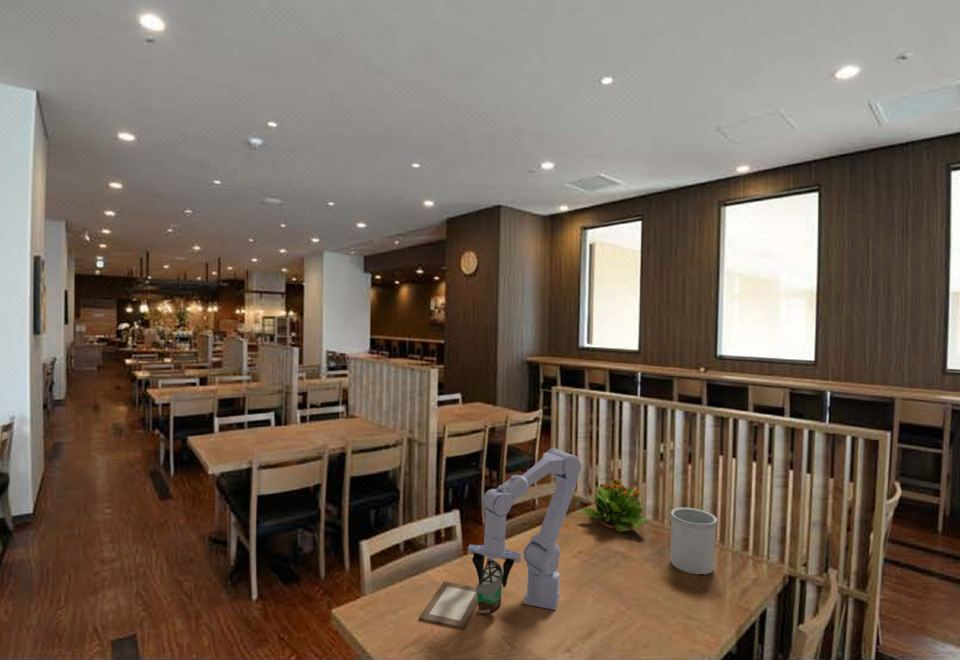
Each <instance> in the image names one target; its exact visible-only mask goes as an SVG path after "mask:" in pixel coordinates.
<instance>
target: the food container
mask: <svg viewBox="0 0 960 660" xmlns="http://www.w3.org/2000/svg"><path fill="white" fill-rule="evenodd" d="M475 587H476V593H477V598H478V604H477V606H478V607H477V609H478V615H479V616H489V615H492V614H494V613H496V612H497V611H499V609H500V607H501V605H502V590H503V589H502V588H503V566H501V564H500V563H499V562H498V561H496V560H495V559H488V558H487V557H486V564H485V567H484V571H483V573H482V576H481V579H480V582H479V581H478V584H476V586H475Z"/></svg>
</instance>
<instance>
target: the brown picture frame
mask: <svg viewBox="0 0 960 660" xmlns="http://www.w3.org/2000/svg"><path fill="white" fill-rule="evenodd" d="M476 587H477V586H470V585H465V584H461V583H456V582H455V583H454V582H449V581H443V582H442V583H441V584H440V586H439V588H438V589H437V590H436V592H435V594H434V595H433V596H432V598H431V599H430V601H429V602H428V604H427V605H426V607H425V608H424V610H423V611H422V612H421V614H419V617H418V620H419V621H422V622H426V621H427V623H432V624H437V625H440V626H445V627H449V628H455V629H458V630H459V629H460V630H464V631H465V629H466V628H467V626H468V624H469V622H470V620H471V619H472V616H473V614H474V612H475V610H476V609H477V606H478V598H477V593H476Z"/></svg>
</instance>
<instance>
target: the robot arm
mask: <svg viewBox="0 0 960 660" xmlns="http://www.w3.org/2000/svg"><path fill="white" fill-rule="evenodd" d="M581 470H582V463H581V461H580V458H579V457H578V455H576V454H570V453H569V452H565V451H564V450H563V451H562V450H559V449H558V448H555V447H552V448H550V449H548V450H547V451H546V452H544V453H543V454H542V458H541V459H540V460H539V461H538V462H537V463H535V464H534V465H533V466H532V467H531V468H529V469H527V471H526V472H525V473H523V474H522V475H520V474H515V475H511V476H510V478H509V479H508V480H506V481H505V482H504V483H503V484H500V485H498V486H497V487H496V488H491V489H488V490H487V491H486V492H485V493H484V495H483V498H482V499H481V505H482V507H483V509H484V514H485V516H484V517H485V519H484V541H483V543H484V544H481V545H480V544H469V546H468V548H467V555H472V558H471V559H472V560H471V561H472V563H473V565H474V568H475V569H476V573H477V577H478V583H479V582H480V579H481V576H482V573H483V571H484V569H485V567H484V565H485V558H486V559H487V558H488V559H492V560H495V559H499V560H504V561H503V564H502V569H503V584H502V588H506V586H507V583H508V579H509V574H510V573H511V570H512V569H513V566H514V565H515V563H516V564H520V562H521V559H522V558H521V554H522V553H521V552H518V551H514V550H511V549H508V548H506V547H505V546H506V529H507V528H506V527H507V523H506V522H507V514H508V513H509V512H510V510H511V508H512V506H513V505H514V503H515V502H516V501H518V500H519V499H521V498H522V497H523V496H524V495H526V494H527V493H528V492H529V489H530V488H529V487H530V486H532V485H533V484H534V483H536V482H538V481H540V480H541V479H542V478H544V477H546V476H547V475H549V474H552V475H553V476H554V478H555V481H556V485H555V489H554V492H553V494H552V497H551V500H550V503H549V505H548V507H547V510H546V513H545V516H544V519H543V522H542V525H541V528H540V530H539V531H538V532H539V533H537V534H534V535H532V536H531V537H530V540H529V542H528V543H527V544H526V545H525V548H524V549H523V555H522V556H523V559H524V561H525V562H526V567H527V568H528V569H527V586H526V594H525V596H524V599H523V604H524V605H528V606H531V607H532V606H533V607H539V608H544V609H549V610H554V611H556V610H557V609H558V608H557V607H558V603H559V600H560V594H561V593H560V580H561V579H560V578H561V574H560V572H557V569H558V568H559V564H560V554H561V551H562V550H561V549H560V547H559V544H558V541H557V540H558V538H559V534H560V532H561V529H562V527H563V524H564V521H565V518H566V514H567V512H568V510H569V507H570V504H571V501H572V498H573V496H574V493H575V489H576V487H577V483H578V478H579V475H580V472H581Z"/></svg>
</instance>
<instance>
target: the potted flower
mask: <svg viewBox="0 0 960 660" xmlns="http://www.w3.org/2000/svg"><path fill="white" fill-rule="evenodd" d="M597 488H598V489H597V491H595V496H594V497H593V500H594V501H593V502H594V505H595V506H596V508H595V507H594V509H593V508H591V507H589V508H585V507H584V508H583V509H581V510H580V512H581V513H583V514H585V515H588V516H590V517H592V518H594V519H597V520H600V523H601V525H603V526H605V527H606V528H609V529H614V530H615V529H616V531H617V532H619V533H622V532H627V531H631V530H632V527H631V526H633V527H634V528H635V529H638V528H639V527H641V526H642V525H644V524H646V523H647V520H646V519H645V518H644V516H645V515H642V513H643V511H644V510H643V509H642V508H641V506H642V503H641V501H638V500H639V495H640V494H641V490H638V489H633V488H631V487H629V488H627V487H626V486H625V485H624V484H622V481H621V480H619V479H617V478H613V480H612V483H606V484H603V483H601V484H600V485H599V486H597ZM629 524H630V525H629Z"/></svg>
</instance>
